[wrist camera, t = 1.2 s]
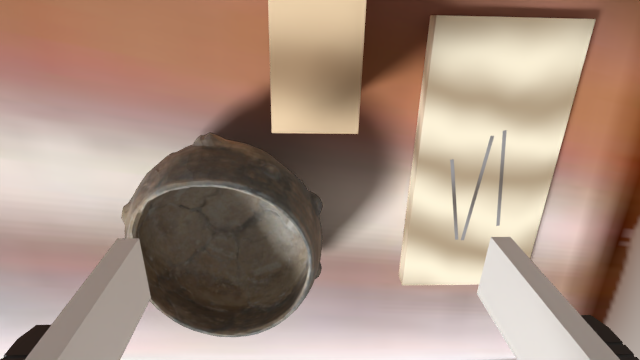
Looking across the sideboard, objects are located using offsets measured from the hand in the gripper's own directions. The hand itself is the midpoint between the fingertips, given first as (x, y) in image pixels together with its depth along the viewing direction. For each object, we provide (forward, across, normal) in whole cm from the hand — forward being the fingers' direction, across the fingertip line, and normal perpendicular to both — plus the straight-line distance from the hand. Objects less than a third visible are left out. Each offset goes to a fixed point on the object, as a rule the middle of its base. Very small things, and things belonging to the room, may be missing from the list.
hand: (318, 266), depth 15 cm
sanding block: (+20, 0, +6) cm, 21 cm away
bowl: (+19, -6, -8) cm, 22 cm away
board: (+19, +15, -4) cm, 25 cm away
